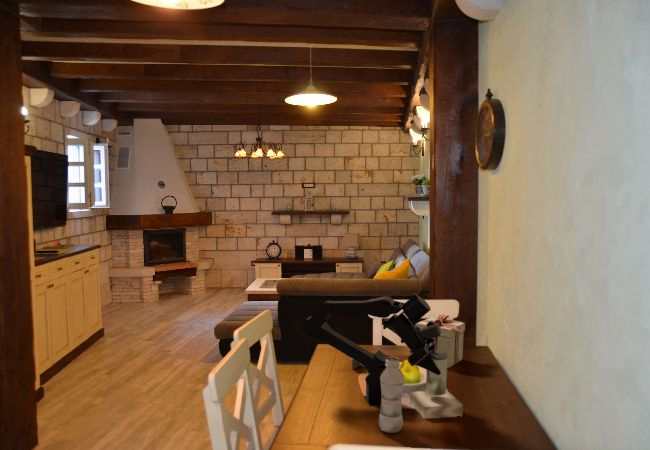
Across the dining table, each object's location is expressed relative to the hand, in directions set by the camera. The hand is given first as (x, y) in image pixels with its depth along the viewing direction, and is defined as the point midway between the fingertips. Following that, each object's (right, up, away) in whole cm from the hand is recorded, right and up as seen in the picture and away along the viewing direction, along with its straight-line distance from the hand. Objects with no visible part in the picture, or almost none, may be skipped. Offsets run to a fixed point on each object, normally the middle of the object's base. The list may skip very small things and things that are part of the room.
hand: (441, 370), depth 162 cm
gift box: (+12, -10, +50) cm, 53 cm away
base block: (-1, -12, +1) cm, 12 cm away
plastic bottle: (-17, -13, -14) cm, 26 cm away
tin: (-1, -7, +1) cm, 7 cm away
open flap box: (-22, -10, +40) cm, 47 cm away
